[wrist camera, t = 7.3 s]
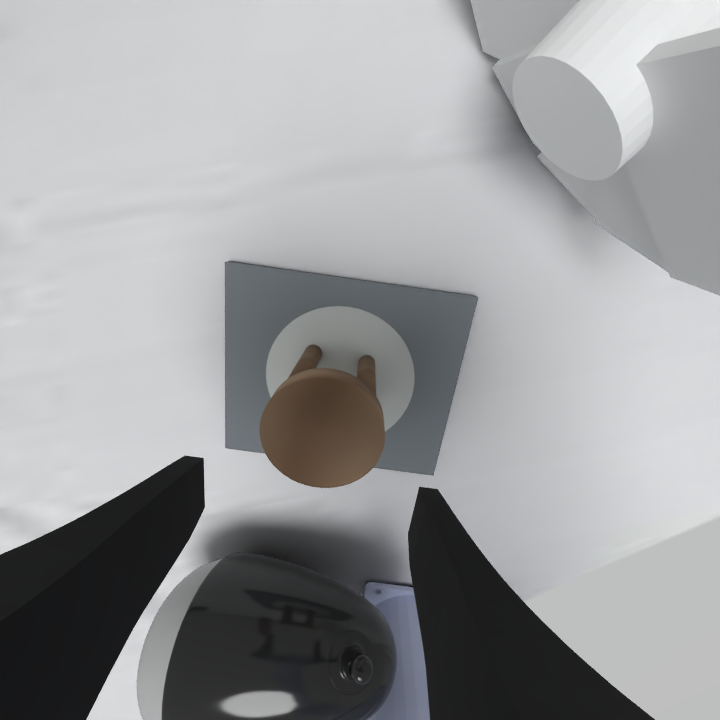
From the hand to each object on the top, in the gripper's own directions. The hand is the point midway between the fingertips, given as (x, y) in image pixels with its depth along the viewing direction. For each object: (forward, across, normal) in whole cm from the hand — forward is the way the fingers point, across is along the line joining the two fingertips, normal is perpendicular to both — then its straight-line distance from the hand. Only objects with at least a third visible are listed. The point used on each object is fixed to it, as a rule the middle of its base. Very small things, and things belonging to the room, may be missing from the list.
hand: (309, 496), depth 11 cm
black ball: (+6, +9, +18) cm, 21 cm away
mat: (+10, 0, 0) cm, 10 cm away
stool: (+10, 0, 0) cm, 10 cm away
